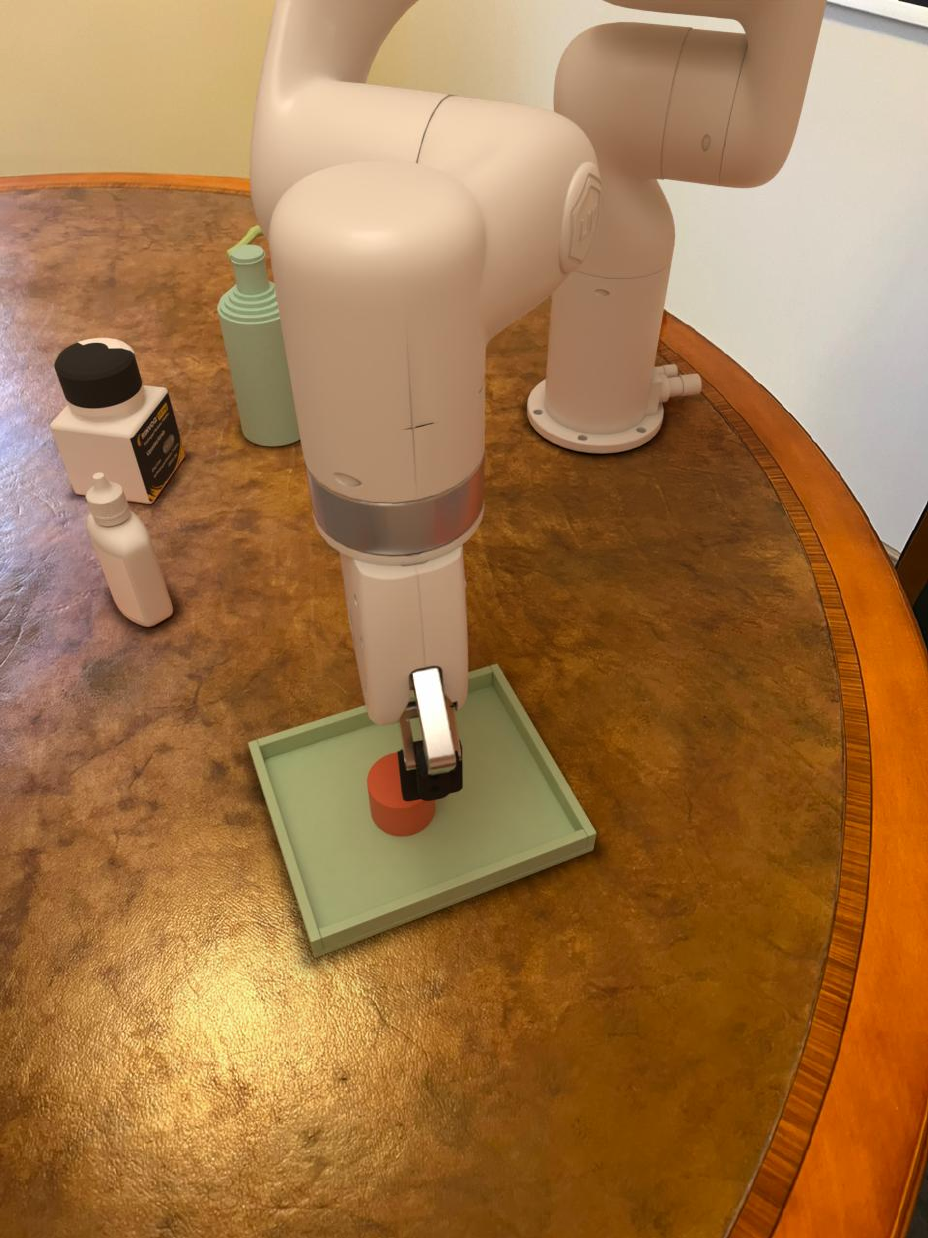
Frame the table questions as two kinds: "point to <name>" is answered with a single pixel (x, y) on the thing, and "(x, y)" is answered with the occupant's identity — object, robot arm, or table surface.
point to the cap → (395, 801)
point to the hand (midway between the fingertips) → (415, 719)
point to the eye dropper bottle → (126, 555)
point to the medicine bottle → (114, 421)
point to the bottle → (257, 352)
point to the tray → (439, 854)
